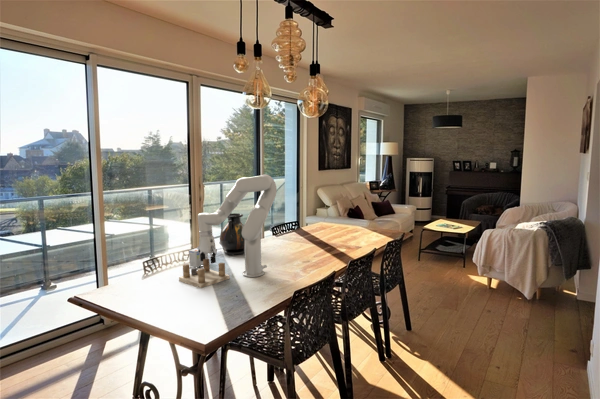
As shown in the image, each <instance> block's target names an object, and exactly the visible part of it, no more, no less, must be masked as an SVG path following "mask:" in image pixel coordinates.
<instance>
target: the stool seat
mask: <svg viewBox="0 0 600 399" xmlns="http://www.w3.org/2000/svg"><path fill="white" fill-rule="evenodd" d="M217 265H218V266H217V267H218V271H217V270H213V269H210V271H207V272H205V269H203V267H201V268H197V271H198V274H197V275H191V269H190V268H191V266H190V263H184V264H182V276H179V277H178V281H179V282H182V283H185V284H187V285H191V286H193V287H196V288H199V289H202V288H205V287H208V286H211V285H214V284H218V283H221V282H224V281H226V280H229V279H230V278H231V277H230V275H229V274H228V273H227V274H226V263H225V262H219V263H217Z"/></svg>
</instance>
